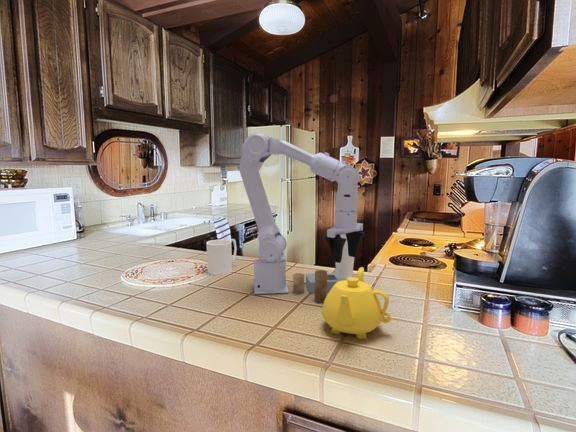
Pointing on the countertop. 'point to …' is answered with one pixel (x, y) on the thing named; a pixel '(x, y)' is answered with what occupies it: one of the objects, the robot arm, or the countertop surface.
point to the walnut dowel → (320, 286)
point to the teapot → (354, 307)
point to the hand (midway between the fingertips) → (344, 259)
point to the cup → (220, 256)
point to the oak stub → (298, 283)
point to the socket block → (331, 281)
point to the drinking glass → (345, 262)
